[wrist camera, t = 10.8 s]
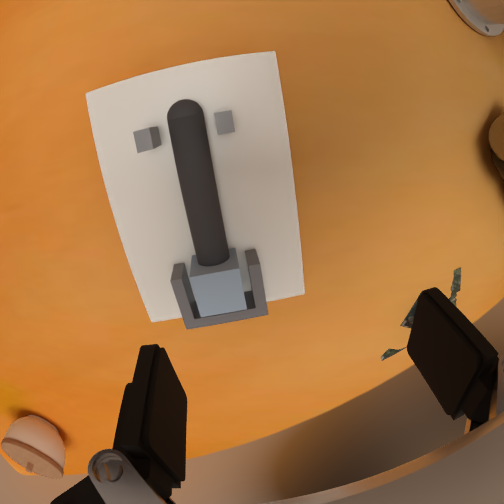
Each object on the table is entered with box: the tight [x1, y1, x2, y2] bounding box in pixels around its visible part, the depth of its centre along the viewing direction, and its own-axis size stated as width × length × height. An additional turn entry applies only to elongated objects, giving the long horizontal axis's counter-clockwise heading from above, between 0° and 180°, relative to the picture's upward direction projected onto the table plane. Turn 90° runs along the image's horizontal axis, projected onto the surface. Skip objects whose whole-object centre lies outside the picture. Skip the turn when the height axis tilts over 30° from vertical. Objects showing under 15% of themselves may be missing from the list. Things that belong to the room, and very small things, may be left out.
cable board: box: [86, 51, 305, 329], centre depth 24 cm, size 23×16×5 cm
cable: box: [167, 99, 247, 317], centre depth 24 cm, size 17×4×4 cm, turn 8°
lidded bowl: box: [1, 415, 65, 479], centre depth 35 cm, size 13×13×11 cm
